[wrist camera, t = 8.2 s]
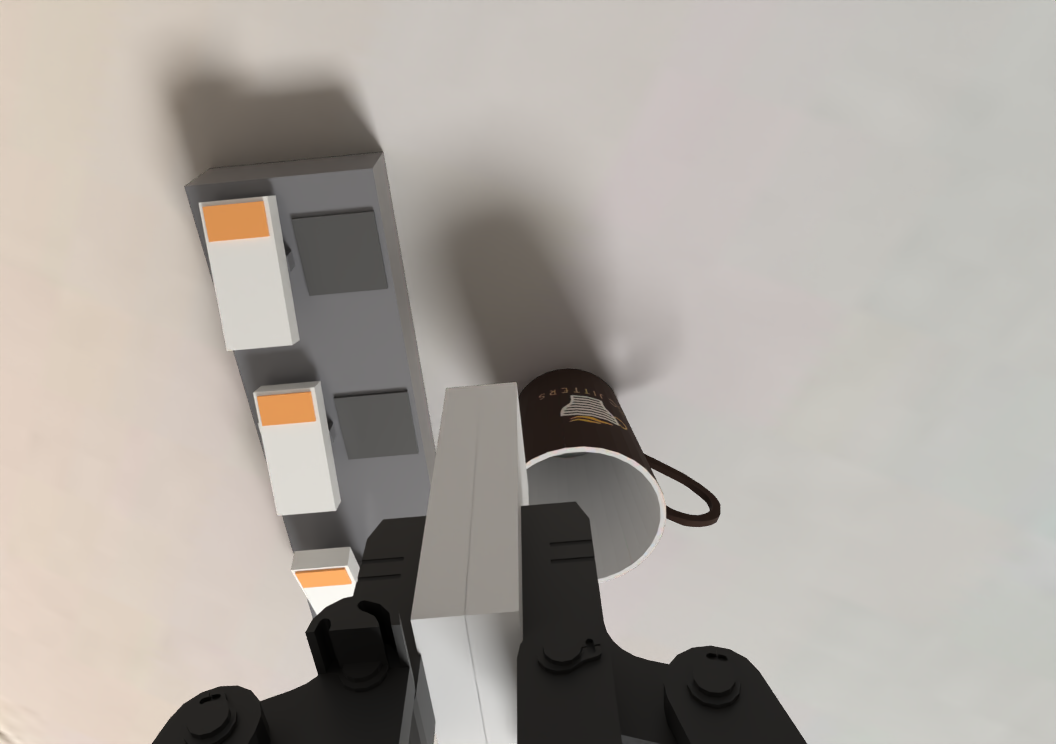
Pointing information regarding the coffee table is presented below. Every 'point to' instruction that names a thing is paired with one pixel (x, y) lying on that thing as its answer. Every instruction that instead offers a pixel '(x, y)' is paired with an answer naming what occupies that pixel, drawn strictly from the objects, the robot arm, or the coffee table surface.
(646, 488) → the coffee mug
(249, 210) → the block
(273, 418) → the rocker
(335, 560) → the block
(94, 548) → the coffee table surface
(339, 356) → the power strip
